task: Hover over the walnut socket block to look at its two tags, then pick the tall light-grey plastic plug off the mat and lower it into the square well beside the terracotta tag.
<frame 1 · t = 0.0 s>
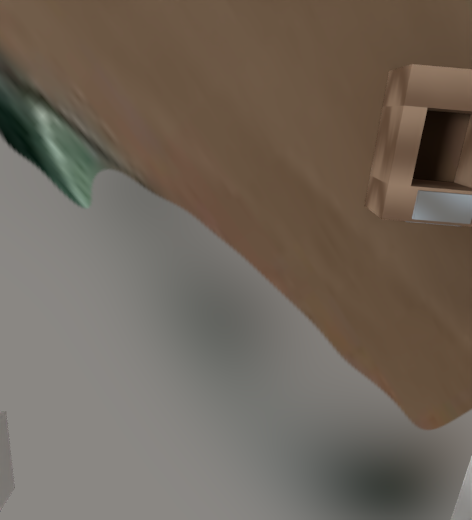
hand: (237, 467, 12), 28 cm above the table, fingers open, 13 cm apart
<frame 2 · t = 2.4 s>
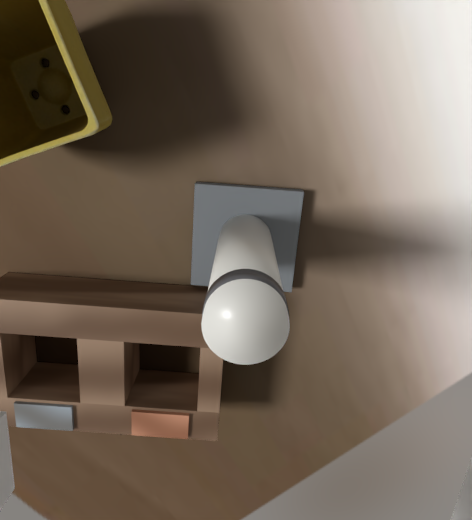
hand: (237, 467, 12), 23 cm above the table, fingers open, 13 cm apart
mat: (245, 236, 34), on the table
flower pot: (59, 85, 30), on the table
socket block: (119, 339, 37), on the table
plug: (245, 240, 33), point 1 cm above the table, touching mat
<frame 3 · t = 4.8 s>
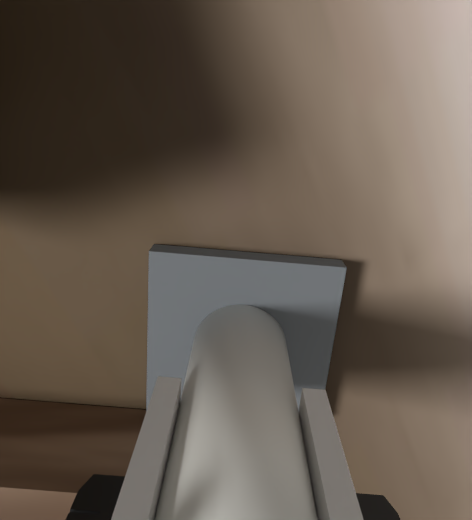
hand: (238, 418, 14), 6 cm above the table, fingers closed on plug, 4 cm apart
mat: (239, 335, 19), on the table
socket block: (35, 487, 23), on the table
plug: (239, 346, 19), point 1 cm above the table, touching gripper, mat
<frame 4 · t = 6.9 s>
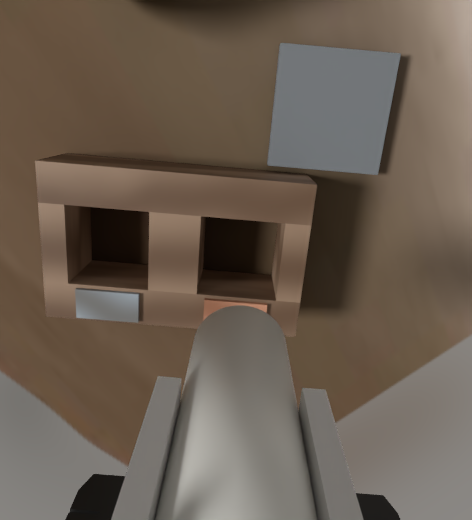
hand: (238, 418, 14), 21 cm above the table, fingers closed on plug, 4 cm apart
mat: (328, 111, 31), on the table
socket block: (183, 234, 34), on the table
plug: (239, 347, 19), point 16 cm above the table, touching gripper
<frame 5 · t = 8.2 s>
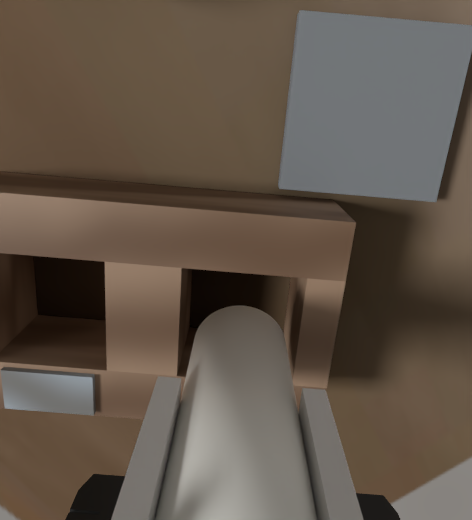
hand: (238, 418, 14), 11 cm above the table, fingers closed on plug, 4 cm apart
mat: (366, 112, 21), on the table
socket block: (161, 281, 25), on the table
plug: (239, 347, 19), point 6 cm above the table, touching gripper
when the fingers open (7 cm above the table, at t = 9.3 s): plug drops 2 cm, resting in socket block.
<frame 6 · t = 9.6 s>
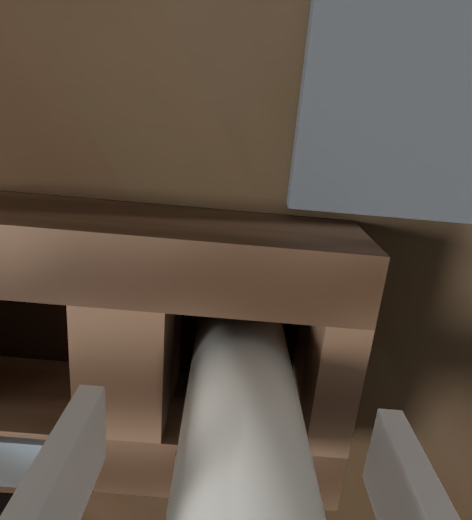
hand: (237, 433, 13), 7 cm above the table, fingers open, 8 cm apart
mat: (397, 114, 17), on the table
socket block: (145, 317, 20), on the table
plug: (239, 325, 20), resting in socket block
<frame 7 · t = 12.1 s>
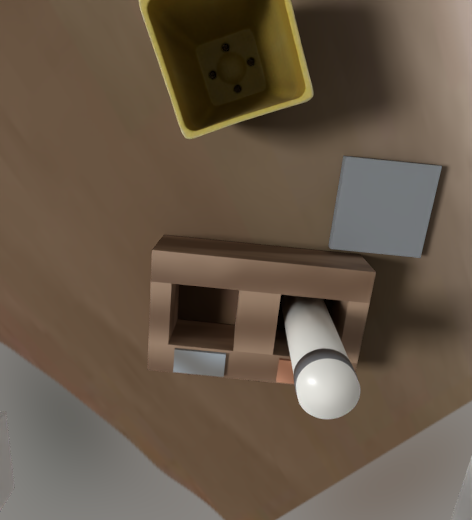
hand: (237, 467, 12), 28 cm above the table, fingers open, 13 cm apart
mat: (381, 206, 38), on the table
flower pot: (233, 68, 35), on the table
socket block: (255, 300, 41), on the table
plug: (302, 305, 41), resting in socket block
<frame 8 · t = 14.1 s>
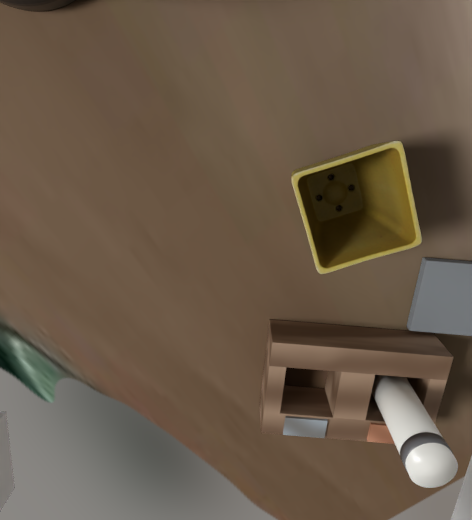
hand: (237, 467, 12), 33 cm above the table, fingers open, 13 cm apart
mat: (451, 295, 46), on the table
flower pot: (335, 191, 42), on the table
socket block: (343, 369, 49), on the table
plug: (382, 372, 49), resting in socket block
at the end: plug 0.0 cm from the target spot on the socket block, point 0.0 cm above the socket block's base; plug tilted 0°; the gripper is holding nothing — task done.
